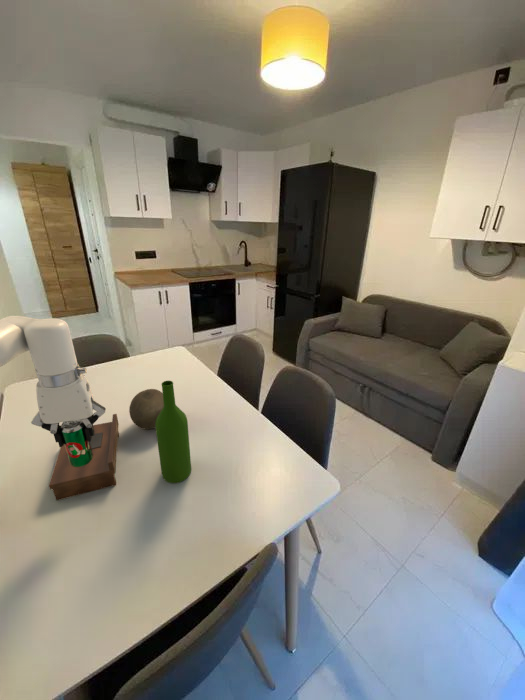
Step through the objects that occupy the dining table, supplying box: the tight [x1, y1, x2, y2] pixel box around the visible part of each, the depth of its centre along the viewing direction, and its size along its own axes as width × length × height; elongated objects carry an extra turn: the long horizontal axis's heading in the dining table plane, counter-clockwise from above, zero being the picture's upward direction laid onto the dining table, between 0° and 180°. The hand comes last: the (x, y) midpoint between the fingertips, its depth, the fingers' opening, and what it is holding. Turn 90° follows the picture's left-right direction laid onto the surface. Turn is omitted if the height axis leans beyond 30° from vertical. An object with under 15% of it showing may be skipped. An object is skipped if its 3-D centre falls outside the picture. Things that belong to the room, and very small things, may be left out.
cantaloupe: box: [128, 388, 164, 430], centre depth 108 cm, size 14×14×15 cm
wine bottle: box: [154, 380, 192, 484], centre depth 85 cm, size 9×9×32 cm
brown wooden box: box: [48, 413, 120, 501], centre depth 92 cm, size 16×24×9 cm, turn 22°
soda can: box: [60, 419, 93, 467], centre depth 71 cm, size 5×5×12 cm
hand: (76, 439), depth 71 cm, fingers closed on soda can, 5 cm apart
